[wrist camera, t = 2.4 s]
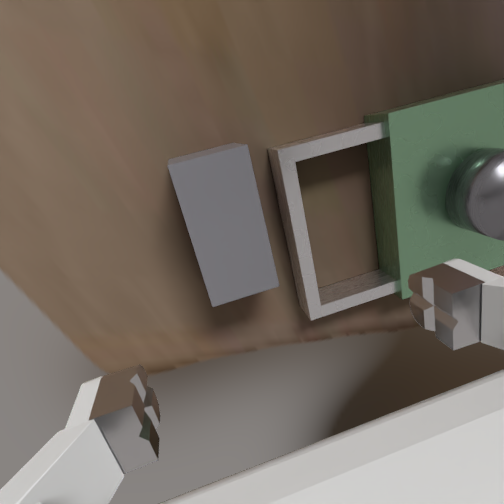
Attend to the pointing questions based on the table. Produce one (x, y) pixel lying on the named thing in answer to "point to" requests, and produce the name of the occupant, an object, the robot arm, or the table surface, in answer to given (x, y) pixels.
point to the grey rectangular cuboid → (225, 221)
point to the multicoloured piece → (409, 193)
